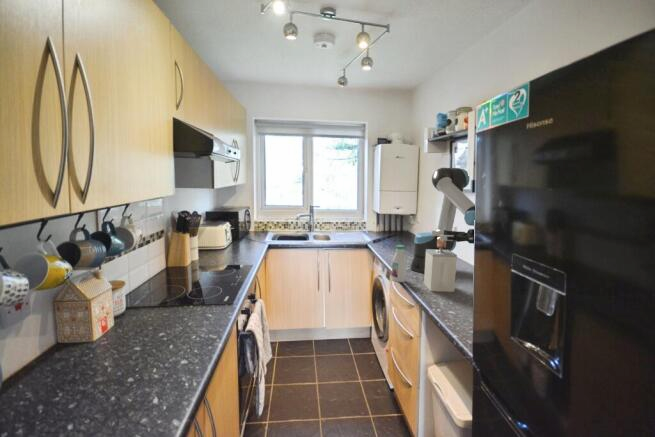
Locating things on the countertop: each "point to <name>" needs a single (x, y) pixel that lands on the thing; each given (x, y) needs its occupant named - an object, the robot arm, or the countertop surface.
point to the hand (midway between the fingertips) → (435, 235)
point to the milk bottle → (399, 265)
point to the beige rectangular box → (440, 270)
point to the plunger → (441, 244)
